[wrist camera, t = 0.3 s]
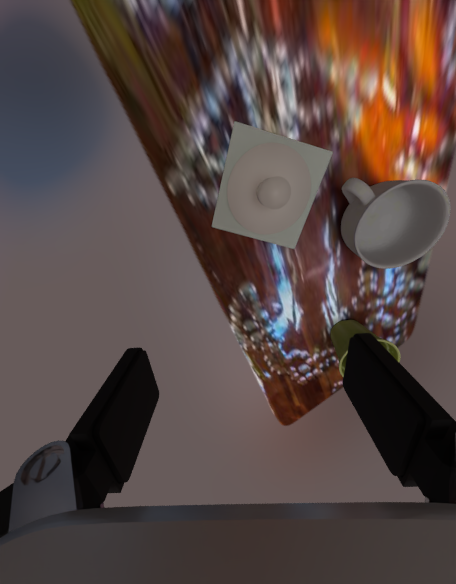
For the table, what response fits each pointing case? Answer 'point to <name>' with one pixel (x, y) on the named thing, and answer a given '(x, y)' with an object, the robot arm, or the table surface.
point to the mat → (239, 145)
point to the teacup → (393, 220)
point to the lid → (269, 188)
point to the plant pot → (347, 330)
